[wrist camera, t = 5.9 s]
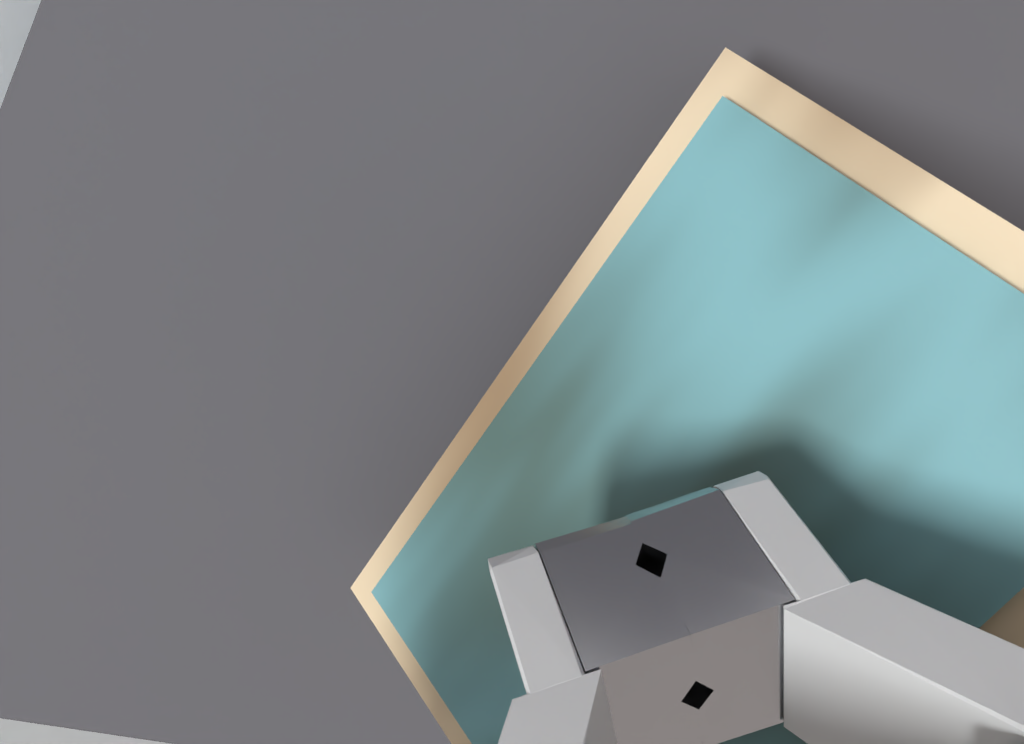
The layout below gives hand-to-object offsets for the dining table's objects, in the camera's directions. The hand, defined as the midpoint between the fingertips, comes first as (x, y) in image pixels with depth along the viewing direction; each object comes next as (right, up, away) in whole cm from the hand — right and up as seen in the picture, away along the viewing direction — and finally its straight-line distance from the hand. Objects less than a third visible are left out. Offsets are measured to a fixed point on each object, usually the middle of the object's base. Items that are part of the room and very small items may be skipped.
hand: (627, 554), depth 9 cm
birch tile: (0, +2, +4) cm, 5 cm away
